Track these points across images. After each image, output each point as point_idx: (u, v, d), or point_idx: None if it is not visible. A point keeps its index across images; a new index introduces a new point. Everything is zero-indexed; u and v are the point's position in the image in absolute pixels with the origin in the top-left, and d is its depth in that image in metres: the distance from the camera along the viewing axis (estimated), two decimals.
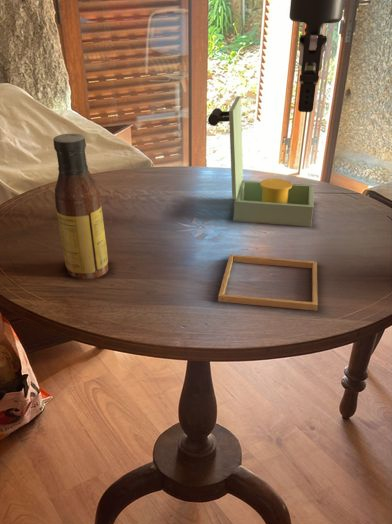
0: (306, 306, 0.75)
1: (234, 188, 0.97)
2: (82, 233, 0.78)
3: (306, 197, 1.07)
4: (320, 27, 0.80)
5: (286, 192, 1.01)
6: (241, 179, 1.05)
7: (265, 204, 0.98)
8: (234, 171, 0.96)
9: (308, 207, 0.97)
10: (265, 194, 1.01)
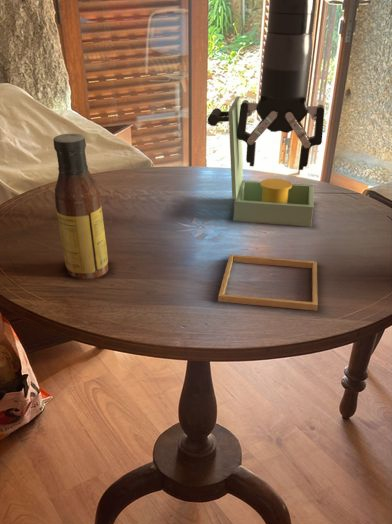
0: (306, 306, 0.75)
1: (234, 188, 0.97)
2: (82, 233, 0.78)
3: (306, 197, 1.07)
4: (260, 99, 0.93)
5: (286, 192, 1.01)
6: (241, 179, 1.05)
7: (265, 204, 0.98)
8: (234, 171, 0.96)
9: (308, 207, 0.97)
10: (265, 194, 1.01)
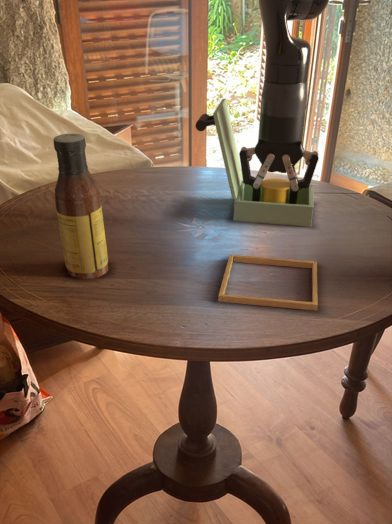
0: (306, 306, 0.75)
1: (232, 188, 0.97)
2: (82, 233, 0.78)
3: (306, 197, 1.07)
4: (258, 142, 0.97)
5: (286, 192, 1.01)
6: (240, 179, 1.05)
7: (265, 204, 0.98)
8: (229, 171, 0.96)
9: (308, 207, 0.97)
10: (265, 194, 1.01)
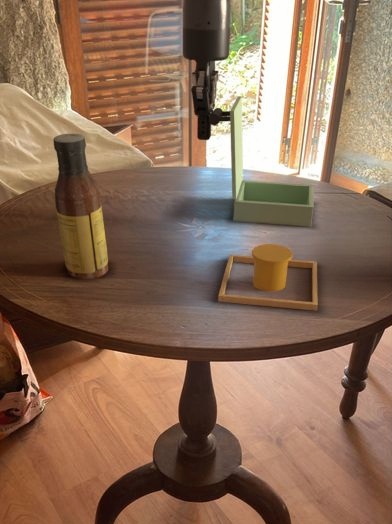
0: (306, 306, 0.75)
1: (234, 188, 0.97)
2: (82, 233, 0.78)
3: (306, 197, 1.07)
4: (207, 65, 0.89)
5: (286, 263, 0.78)
6: (241, 179, 1.05)
7: (265, 204, 0.98)
8: (234, 171, 0.96)
9: (308, 207, 0.97)
10: (259, 266, 0.78)
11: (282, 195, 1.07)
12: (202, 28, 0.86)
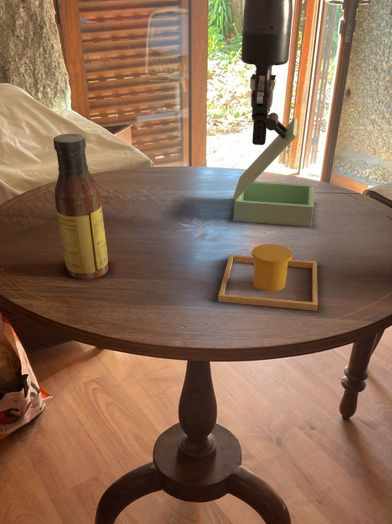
0: (306, 306, 0.75)
1: (241, 192, 0.97)
2: (82, 233, 0.78)
3: (306, 197, 1.07)
4: (267, 69, 0.88)
5: (286, 263, 0.78)
6: None
7: (265, 204, 0.98)
8: (254, 179, 0.96)
9: (308, 207, 0.97)
10: (259, 266, 0.78)
11: (282, 195, 1.07)
12: (264, 32, 0.85)
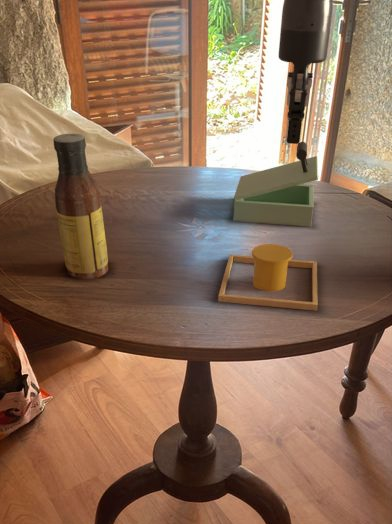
0: (306, 306, 0.75)
1: (244, 197, 0.98)
2: (82, 233, 0.78)
3: (306, 197, 1.07)
4: (306, 67, 0.87)
5: (286, 263, 0.78)
6: None
7: (265, 204, 0.98)
8: (261, 193, 0.97)
9: (308, 207, 0.97)
10: (259, 266, 0.78)
11: (282, 195, 1.07)
12: (304, 30, 0.84)
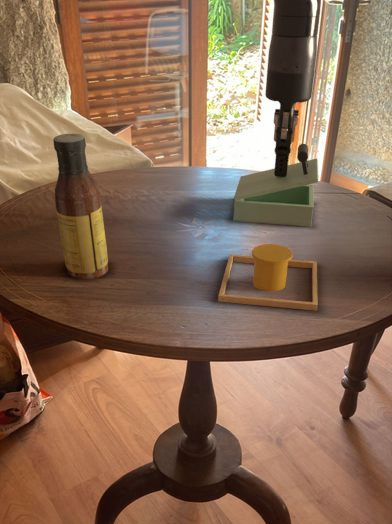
0: (306, 306, 0.75)
1: (244, 197, 0.98)
2: (82, 233, 0.78)
3: (306, 197, 1.07)
4: (291, 106, 0.90)
5: (286, 263, 0.78)
6: None
7: (265, 204, 0.98)
8: (261, 194, 0.97)
9: (308, 207, 0.97)
10: (259, 266, 0.78)
11: (282, 195, 1.07)
12: (290, 72, 0.88)
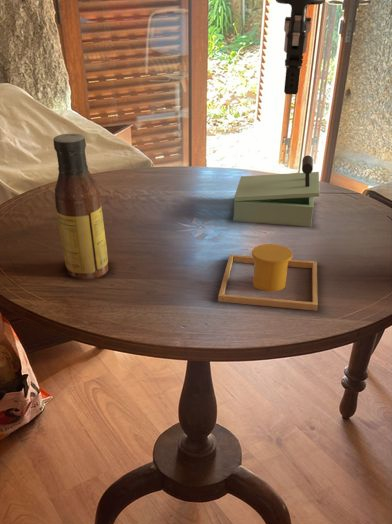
0: (306, 306, 0.75)
1: (244, 199, 0.98)
2: (82, 233, 0.78)
3: (306, 197, 1.07)
4: (304, 8, 0.83)
5: (286, 263, 0.78)
6: None
7: (265, 204, 0.98)
8: (262, 198, 0.97)
9: (308, 207, 0.97)
10: (259, 266, 0.78)
11: None
12: None
